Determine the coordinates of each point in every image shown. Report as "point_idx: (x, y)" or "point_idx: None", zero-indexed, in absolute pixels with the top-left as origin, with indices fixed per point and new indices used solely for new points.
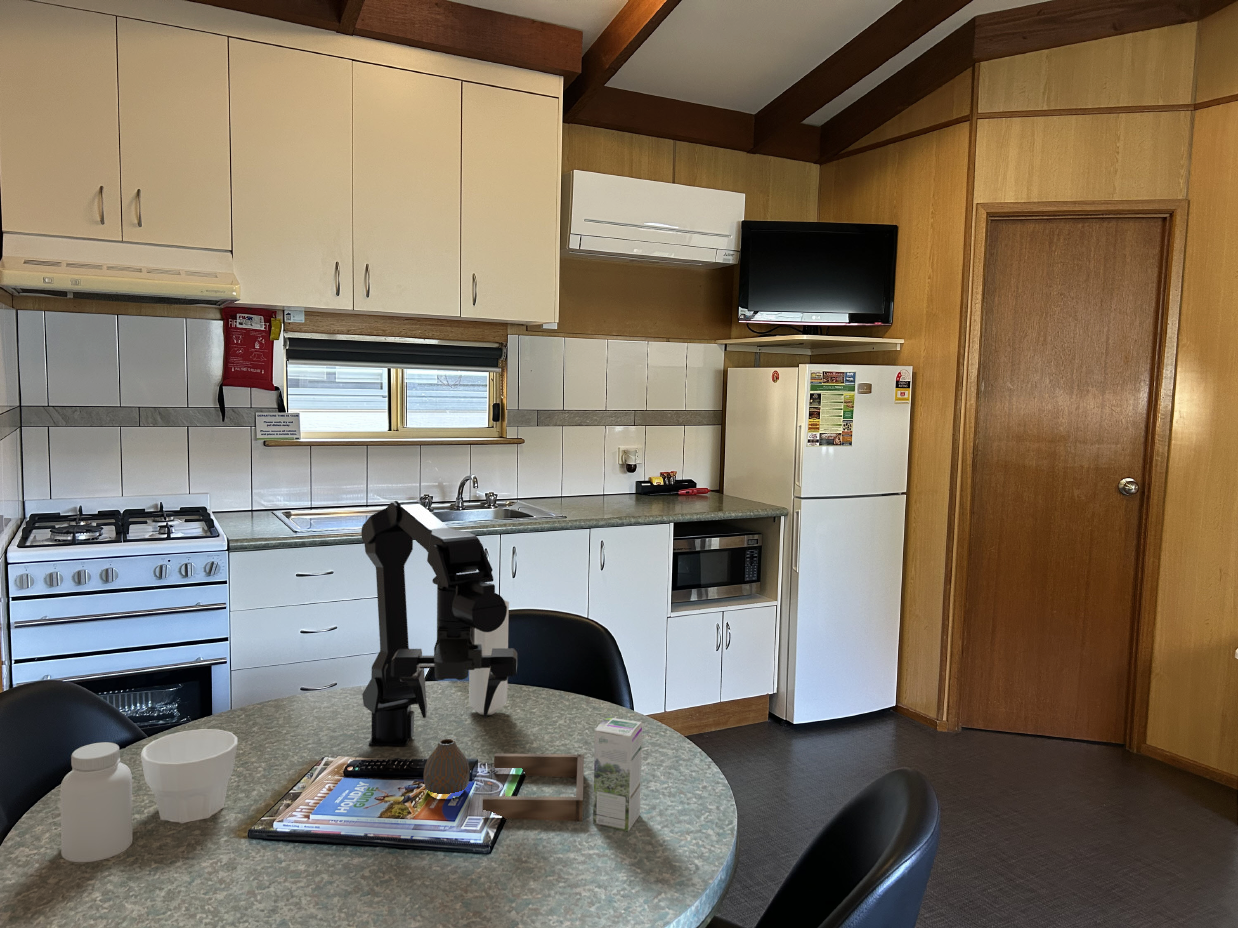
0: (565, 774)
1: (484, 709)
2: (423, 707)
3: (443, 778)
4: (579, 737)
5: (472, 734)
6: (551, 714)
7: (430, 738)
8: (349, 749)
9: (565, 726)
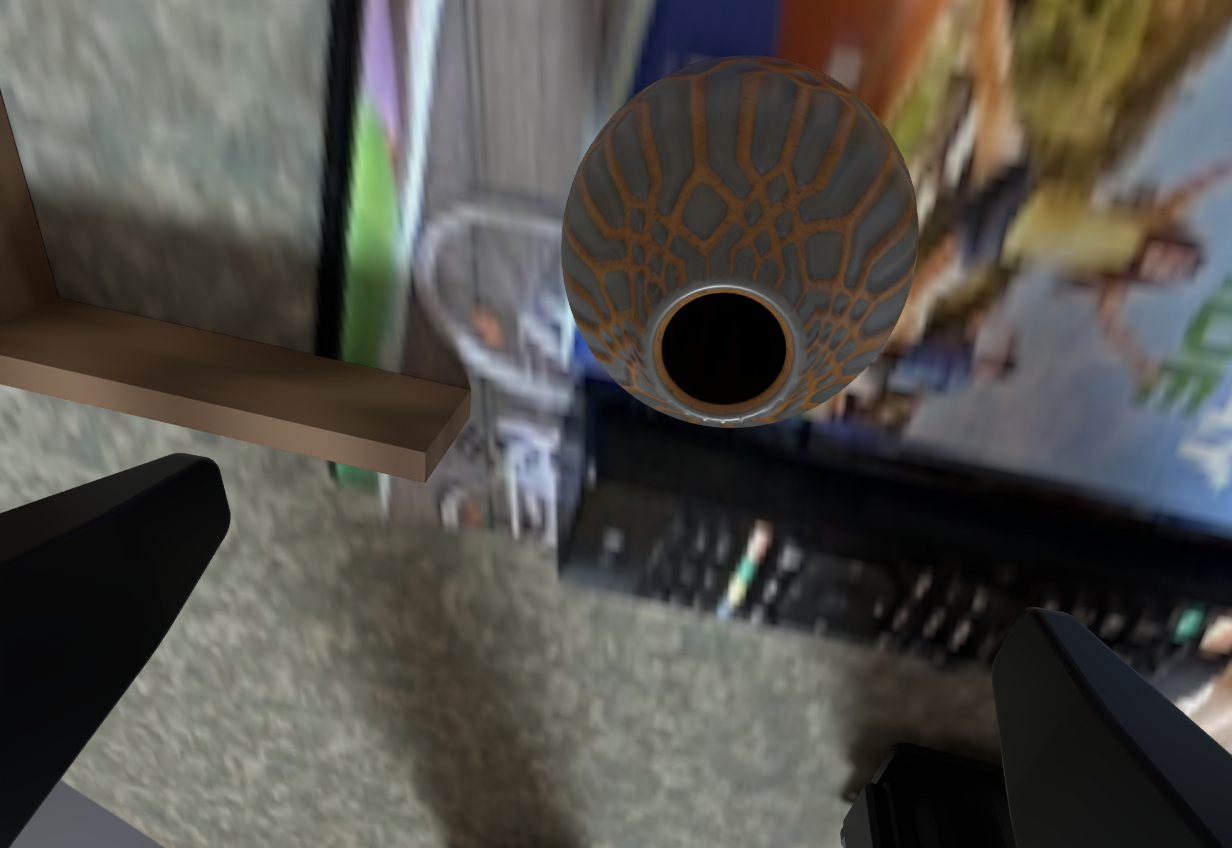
0: (101, 315)
1: (109, 505)
2: (1153, 740)
3: (774, 67)
4: None
5: (584, 767)
6: (298, 817)
7: (763, 782)
8: None
9: (229, 733)
